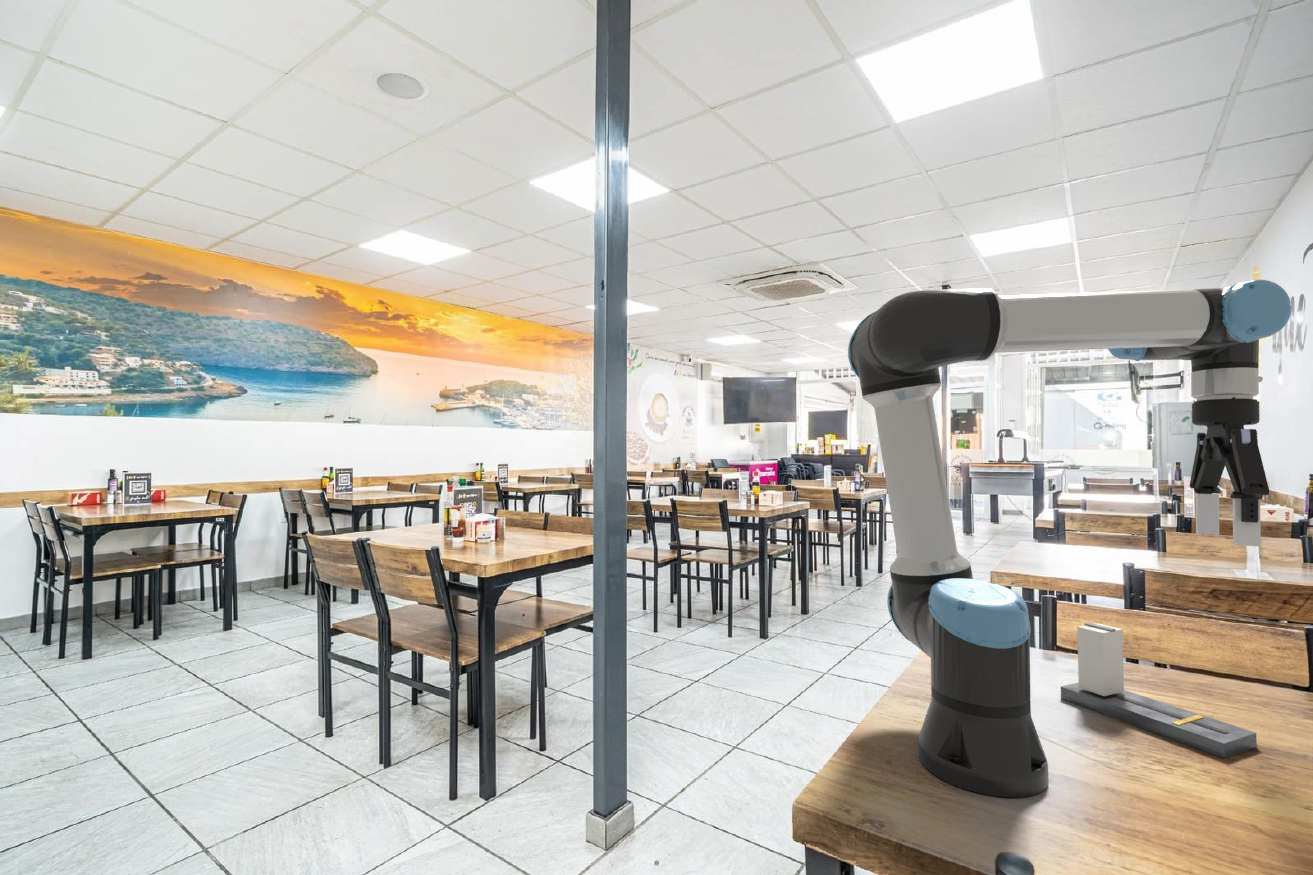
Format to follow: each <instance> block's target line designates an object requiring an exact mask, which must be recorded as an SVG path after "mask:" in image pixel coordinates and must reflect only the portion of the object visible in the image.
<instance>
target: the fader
mask: <svg viewBox="0 0 1313 875" xmlns="http://www.w3.org/2000/svg"><path fill="white" fill-rule="evenodd" d="M1076 630H1077V662H1078V663H1077V664H1078V665H1077V668H1078V672H1077V673H1078V682H1079V688H1082V689H1085V690H1087V691H1090V692H1093V693H1096V694H1099V695H1102V696H1108V695H1112V694H1116V693H1120V692H1124V690H1125V678H1124V674H1125V672H1124V671H1125V670H1124V638H1123V636H1124V635H1123V632H1124V631H1123V630H1124V629H1122V628H1119V627H1115V626H1110V625H1106V624H1101V623H1098V622H1097V623H1093V622H1084V625H1079V626H1078V625H1077V627H1076Z"/></svg>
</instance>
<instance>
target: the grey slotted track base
mask: <svg viewBox="0 0 1313 875" xmlns="http://www.w3.org/2000/svg"><path fill="white" fill-rule="evenodd" d="M1060 699H1061V700H1064V701H1066V702H1069V703H1071V704H1074V705H1078V706H1080V707H1083V708H1085V709H1088V710H1090V711H1094V712H1097V713H1099V714H1102V715H1105V716H1107V717H1110V718H1113V719H1115V720H1117V721H1122V722H1124V723H1126V724H1129V725H1132V726H1135V727H1138V728H1139V729H1142V730H1146V731H1148V732H1151V733H1153V734H1156V735H1159V736H1162V737H1165V738H1167V739H1170V740H1173V741H1176V742H1178V743H1180V744H1183V745H1187V746H1189V747H1191V748H1195V749H1197V750H1200V751H1203V752H1205V753H1209V754H1211V755H1213V756H1216V757H1219V758H1222V759H1228V758H1230V757H1233V756H1236V755H1238V754H1241V753H1245V752H1247V751H1250V750H1253V749H1255V748H1257V747H1258V746H1257V742H1258V741H1257V732H1255V731H1253V730H1249V729H1247V728H1246V729H1245V728H1243V727H1239V726H1236V725H1234V724H1231V723H1227V722H1224V721H1222V720H1218V719H1215V718H1213V717H1209V716H1206V715H1202V714H1199V713H1197V712H1194V711H1191V710H1187V709H1184V708H1181V707H1178V706H1174V705H1172V704H1168V703H1166V702H1162V701H1159V700H1156V699H1153V698H1150V697H1147V696H1145V695H1144V696H1143V695H1141V694H1137V693H1135V692H1132V691H1129V690H1126V689H1124V692H1120V693H1116V694H1112V695H1108V696H1102V695H1099V694H1096V693H1093V692H1090V691H1087V690H1085V689H1082V688H1079V681H1077V682H1076V683H1075V682H1074V683H1071V684H1070V683H1069V684H1066V685H1062V686H1060Z"/></svg>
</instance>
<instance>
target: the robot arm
mask: <svg viewBox="0 0 1313 875" xmlns="http://www.w3.org/2000/svg"><path fill="white" fill-rule="evenodd" d="M1291 313H1292V306H1291V298H1290V297H1289V294H1288V292H1286V290H1285V289H1284V288H1283V287H1282V286H1281V285H1279V284H1278V283H1276V282H1273V281H1271V280H1269V279H1268V280H1267V279H1253V280H1249V281H1240V282H1237V283H1233V284H1231V285H1230V286H1227V287H1218V288H1217V287H1216V288H1215V287H1214V288H1213V287H1212V288H1197V289H1196V288H1195V289H1170V290H1168V289H1167V290H1166V289H1165V290H1137V291H1135V290H1133V291H1111V292H1110V291H1109V292H1107V291H1105V292H1103V291H1102V292H1079V293H1078V292H1076V293H1047V294H1046V293H1044V294H1019V295H1017V294H1016V295H1014V294H1013V295H999V294H998V293H997V292H996V291H995V290H993V289H992V288H957V289H956V288H953V289H952V288H951V289H949V288H948V289H946V288H945V289H923V290H915V291H908V292H906V293H901V294H899V295H897V296H894V297H893V298H891V299H889V300H888V301H887V302H886V303H884V304H883V305H882V306H880V308H878V309H877V310H875V311H873V312H871V313H870V314H868V315H867V316H866V317H864V319H862V320H861V321H860V322H859V324H857V327H856V328H855V330H854V331H853V332H852V334H851V337H850V339H849V343H848V347H847V357H848V361H849V365H850V367H851V370H852V372H854V374H855V376H857V378H858V379H859V384H860V385H859V386H860V391H861V396H862V399H863V400H864V401H866V403H867V404H870V405H871V407H873V409H874V414H875V420H876V421H875V422H876V428H877V434H878V440H879V441H878V442H879V444H880V445H879V446H880V452H881V458H882V459H881V460H882V464H883V465H882V466H883V471H884V477H885V484H886V490H887V496H888V503H889V508H890V514H891V515H890V516H891V521H892V526H893V533H894V540H895V545H896V546H895V547H896V551H897V556H896V558H895V559H894V560H893V562H892V563H891V565H890V566H889V573H890V579H891V585H890V586H889V589H888V594H887V598H886V599H887V609H888V613H889V616H890V618H891V621H892V623H893V624H894V626H895V628H896V629H897V630H898V632H900V634H901V635H902V636H903V637H904V638H905V639H906V640H907V641H909V642H911V643H912V645H914V646H916V647H917V648H918V649H919V650H920V651H922V652H923V653H924V654H925V655H926V656H928V657H929V658H930V683H931V684H930V685H931V686H930V687H931V690H930V692H931V694H930V695H931V698H930V703H929V705H928V708H927V711H926V714H925V717H924V719H923V723H922V726H921V729H920V732H919V735H918V740H917V744H918V745H917V747H918V748H917V752H918V754H917V755H918V756H917V757H918V759H919V761H920V763H921V765H922V766H923V767H924V768H925V769H927V771H929V772H930V773H931V774H933V775H934V776H935V777H936V778H939V779H940V780H943V781H945V782H947V783H949V784H951V785H953V786H956V787H959V788H962V789H964V790H967V791H970V792H975V793H979V794H981V795H982V794H984V795H987V796H994V797H1004V798H1005V797H1006V798H1022V797H1029V796H1033V795H1038V794H1040V793H1042V792H1043V791H1044V790H1045V789H1046V788H1047V787H1048V785H1049V763H1048V759H1047V756H1046V753H1045V751H1044V749H1043V745H1042V743H1041V740H1040V737H1039V734H1038V731H1037V729H1036V726H1035V724H1034V723H1035V722H1034V721H1033V718H1032V714H1031V713H1032V711H1031V710H1032V709H1031V708H1032V707H1031V652H1030V651H1031V648H1030V647H1031V646H1030V645H1031V642H1030V641H1031V640H1030V636H1031V629H1032V627H1031V622H1030V618H1029V610H1028V605H1027V603H1026V601H1025V600H1024V598H1023V597H1022V596H1021V595H1020V594H1019V593H1017V592H1015V591H1014V590H1012V589H1010V588H1008V587H1007V586H1005V585H1001V584H997V583H990V581H986V580H982V579H974V578H973V573H972V566H971V561H970V560H968V559H967V558H966V557H964V556H963V555H961V554H960V553H959V551H958V548H957V542H956V535H955V530H954V524H953V516H952V511H951V504H950V498H949V494H948V487H947V482H946V480H947V479H946V474H945V469H944V468H945V467H944V462H943V456H942V449H941V444H940V438H939V432H938V424H937V420H936V414H935V412H936V411H935V407H934V400H933V399H934V396H935V394H936V393H937V392H938V391H939V389H940V388H941V387H942V382H941V375H940V368H941V367H944V366H949V365H953V364H957V363H962V362H971V361H973V362H974V361H975V362H977V361H987V360H989V359H991V358H992V357H993V356H994V354H996V353H997V354H998V353H1021V352H1022V353H1023V352H1025V353H1026V352H1053V351H1056V352H1057V351H1084V350H1108V352H1109V353H1110V354H1111V355H1112V357H1115V358H1116V359H1120V360H1129V361H1135V362H1140V361H1162V360H1163V361H1170V360H1171V361H1173V360H1174V361H1179V360H1180V361H1181V360H1182V361H1190V364H1191V372H1190V379H1191V380H1190V397H1191V398H1192V399H1195V400H1196V401H1193V403H1192V404H1191V423H1192V425H1195V426H1197V427H1198V426H1200V427H1204V426H1206V431H1205V432H1204V431H1203V432H1202V431H1201V432H1200V431H1198V432H1197V434H1196V449H1195V454H1194V459H1193V464H1192V469H1191V474H1190V481H1189V487H1190V489H1193V491H1194V493H1195V534H1196V535H1205V536H1206V535H1209V536H1220V494H1223V493H1222V491H1221V489H1220V487H1218V486H1219V485H1220V481H1221V479H1222V475H1223V472H1224V469H1226V472H1227V475H1228V477H1229V480H1230V482H1231V485H1232V489H1233V490H1234V491H1232V492H1231V494H1230V495H1229V498H1230V499H1232V545H1234V546H1244V547H1245V546H1246V547H1261V542H1262V541H1261V539H1262V538H1261V500H1262V499H1263V497H1264V496H1269V495H1270V493H1271V492H1270V487H1269V484H1268V480H1267V476H1266V472H1265V471H1266V470H1265V467H1264V463H1263V461H1262V455H1261V452H1260V448H1259V447H1260V446H1259V443H1258V430H1257V429H1256V428H1245V426H1250V425H1251V426H1252V425H1253V426H1254V425H1257V424H1258V423H1259V422H1260V401H1258V399H1254V397H1256V396H1257V395H1259V392H1260V390H1259V389H1260V388H1259V386H1260V383H1261V382H1263V379H1264V378H1263V376H1261V375H1260V376H1259V374H1260V372H1259V363H1260V362H1259V361H1260V359H1259V355H1260V353H1259V352H1260V351H1259V350H1260V349H1259V346H1260V345H1259V344H1260V339H1265V338H1269V337H1272V336H1273V335H1275V334H1277V333H1278V332H1279V333H1280V332H1281V330H1283V329H1284V328H1285V327H1286V325H1287V323H1288V322H1289V320H1290V318H1291Z"/></svg>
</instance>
